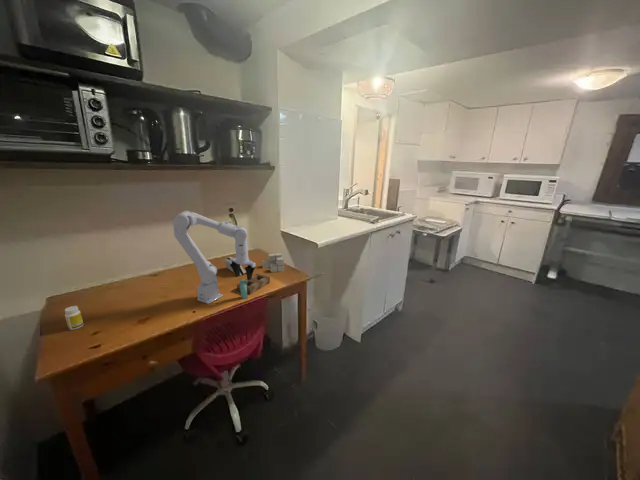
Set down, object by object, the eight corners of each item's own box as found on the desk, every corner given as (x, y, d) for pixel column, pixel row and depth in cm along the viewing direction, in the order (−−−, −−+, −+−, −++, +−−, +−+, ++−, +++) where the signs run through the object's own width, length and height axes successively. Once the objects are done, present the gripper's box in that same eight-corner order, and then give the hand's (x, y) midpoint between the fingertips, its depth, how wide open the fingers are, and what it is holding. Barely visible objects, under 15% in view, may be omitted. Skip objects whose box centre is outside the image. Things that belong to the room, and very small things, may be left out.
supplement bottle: (86, 323, 115) (82, 305, 113) (77, 330, 111) (72, 311, 108) (74, 323, 115) (69, 305, 113) (65, 330, 110) (59, 311, 108)
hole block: (250, 294, 141) (250, 288, 140) (237, 290, 145) (236, 284, 144) (270, 282, 155) (269, 276, 154) (257, 279, 159) (257, 273, 158)
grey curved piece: (247, 273, 166) (241, 260, 161) (241, 278, 163) (234, 264, 159) (234, 266, 177) (228, 253, 173) (227, 270, 175) (221, 257, 170)
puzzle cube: (262, 266, 179) (262, 254, 176) (281, 264, 182) (280, 252, 180) (264, 273, 168) (263, 261, 165) (284, 271, 171) (283, 259, 169)
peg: (244, 299, 136) (243, 282, 133) (239, 298, 137) (238, 281, 135) (248, 296, 139) (247, 280, 136) (244, 295, 140) (242, 279, 137)
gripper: (259, 252, 134) (260, 277, 138) (236, 247, 140) (238, 272, 144) (249, 256, 128) (250, 283, 132) (226, 251, 134) (228, 277, 138)
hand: (243, 277), depth 138 cm, fingers open, 7 cm apart
